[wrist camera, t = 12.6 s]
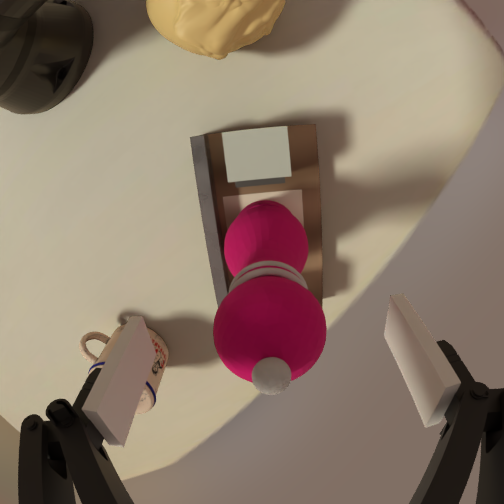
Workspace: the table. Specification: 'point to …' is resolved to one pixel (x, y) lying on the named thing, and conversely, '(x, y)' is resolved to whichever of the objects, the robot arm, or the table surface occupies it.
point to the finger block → (257, 156)
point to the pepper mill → (268, 300)
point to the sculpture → (213, 23)
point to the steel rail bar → (210, 214)
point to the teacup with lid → (155, 373)
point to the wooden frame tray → (280, 196)
